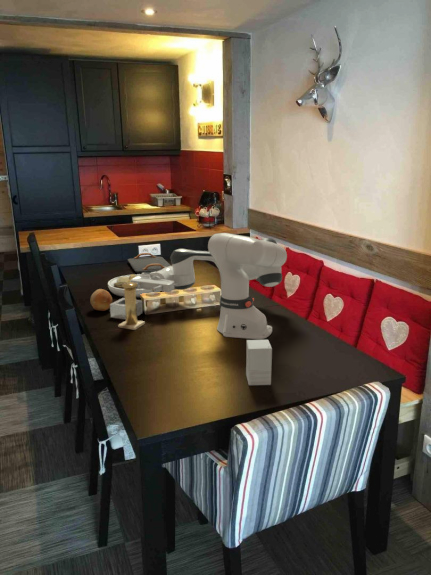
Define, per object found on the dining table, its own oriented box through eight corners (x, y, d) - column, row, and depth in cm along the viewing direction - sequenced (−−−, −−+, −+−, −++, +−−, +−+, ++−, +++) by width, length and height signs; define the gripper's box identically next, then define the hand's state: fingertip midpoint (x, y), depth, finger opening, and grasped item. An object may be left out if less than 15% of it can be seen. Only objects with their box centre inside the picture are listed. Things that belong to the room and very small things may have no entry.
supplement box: (267, 374, 159) (269, 339, 155) (271, 385, 152) (272, 348, 148) (245, 375, 159) (246, 339, 155) (247, 385, 152) (248, 348, 148)
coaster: (145, 323, 204) (145, 321, 204) (134, 330, 197) (134, 327, 197) (128, 321, 207) (128, 318, 207) (118, 327, 200) (118, 324, 200)
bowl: (98, 297, 241) (97, 281, 239) (123, 281, 269) (122, 267, 267) (154, 301, 234) (154, 285, 232) (174, 284, 262) (174, 270, 260)
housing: (142, 313, 217) (141, 300, 215) (130, 320, 208) (129, 307, 206) (123, 310, 221) (122, 297, 219) (110, 317, 212) (109, 304, 210)
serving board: (175, 274, 285) (174, 263, 283) (135, 277, 278) (135, 266, 276) (161, 259, 320) (161, 250, 318) (126, 262, 313) (125, 252, 311)
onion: (86, 312, 219) (84, 290, 216) (100, 305, 227) (99, 285, 224) (103, 315, 214) (101, 293, 211) (117, 308, 223) (116, 288, 220)
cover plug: (141, 321, 203) (139, 282, 199) (134, 326, 198) (131, 286, 193) (129, 319, 206) (127, 281, 201) (121, 324, 200) (119, 285, 196)
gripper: (179, 290, 217) (165, 298, 205) (140, 285, 225) (124, 293, 213) (179, 276, 216) (164, 284, 203) (139, 272, 223) (123, 279, 211)
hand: (143, 289), depth 208 cm, fingers open, 8 cm apart
